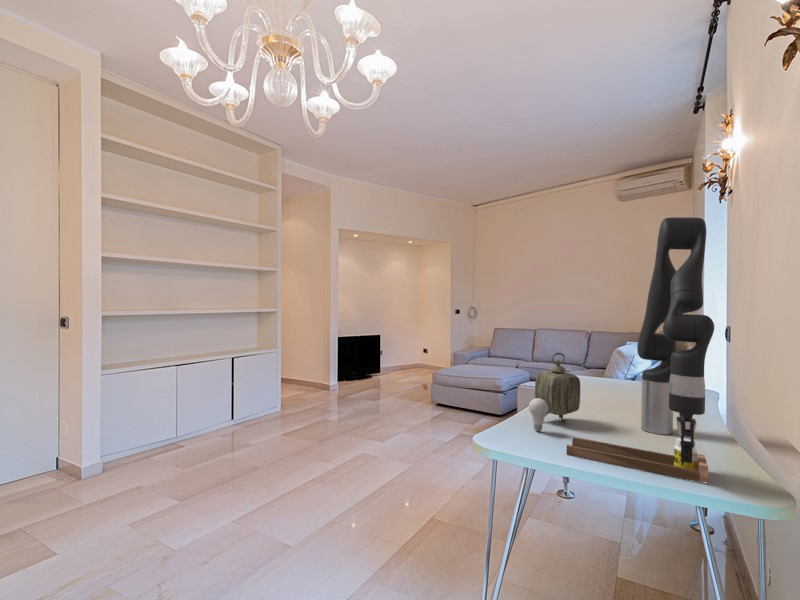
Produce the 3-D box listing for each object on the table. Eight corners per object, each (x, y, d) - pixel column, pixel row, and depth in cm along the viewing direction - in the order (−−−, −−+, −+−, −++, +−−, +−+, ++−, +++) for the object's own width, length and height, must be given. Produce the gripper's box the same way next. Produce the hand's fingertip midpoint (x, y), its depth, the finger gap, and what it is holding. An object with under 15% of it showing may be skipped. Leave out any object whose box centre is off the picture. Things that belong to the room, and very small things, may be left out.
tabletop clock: (560, 416, 154) (561, 350, 154) (581, 423, 146) (583, 353, 146) (533, 421, 146) (535, 352, 146) (555, 428, 138) (556, 355, 139)
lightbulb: (549, 435, 130) (549, 401, 131) (529, 433, 132) (530, 399, 132) (546, 429, 136) (546, 397, 137) (527, 428, 138) (528, 395, 138)
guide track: (572, 445, 122) (573, 431, 122) (704, 470, 104) (704, 455, 105) (566, 454, 113) (566, 440, 113) (707, 484, 96) (708, 467, 96)
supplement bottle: (669, 469, 105) (669, 436, 105) (686, 469, 105) (686, 436, 105) (683, 477, 100) (684, 443, 100) (701, 477, 100) (702, 443, 101)
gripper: (707, 400, 95) (706, 469, 95) (702, 390, 107) (701, 452, 107) (669, 395, 99) (668, 462, 99) (668, 386, 111) (667, 446, 111)
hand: (685, 456), depth 103 cm, fingers open, 8 cm apart
